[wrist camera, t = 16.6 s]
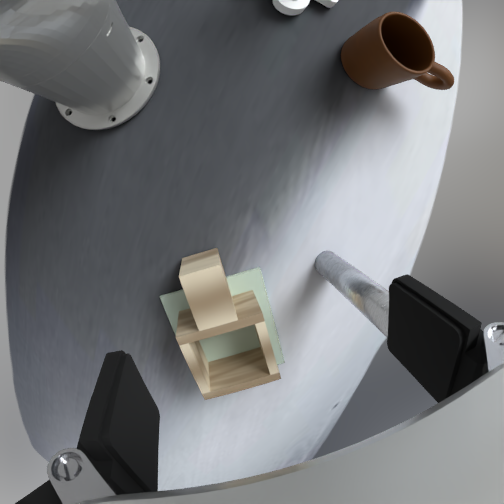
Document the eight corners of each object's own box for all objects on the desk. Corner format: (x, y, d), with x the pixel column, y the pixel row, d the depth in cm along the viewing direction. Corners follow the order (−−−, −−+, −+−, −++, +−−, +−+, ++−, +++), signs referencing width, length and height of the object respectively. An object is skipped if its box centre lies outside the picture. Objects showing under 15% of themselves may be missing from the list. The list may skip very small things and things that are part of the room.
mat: (160, 295, 35) (159, 297, 34) (259, 266, 36) (260, 268, 35) (198, 384, 39) (198, 386, 39) (283, 360, 40) (284, 362, 40)
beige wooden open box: (161, 264, 34) (153, 284, 28) (238, 241, 34) (246, 256, 28) (203, 369, 38) (204, 399, 32) (270, 350, 39) (281, 378, 33)
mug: (419, 72, 32) (466, 59, 23) (409, 117, 34) (458, 111, 25) (346, 27, 29) (384, -3, 20) (331, 73, 31) (370, 49, 22)
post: (313, 254, 36) (397, 326, 19) (335, 247, 37) (429, 311, 20) (317, 277, 37) (397, 358, 20) (339, 270, 38) (428, 342, 20)
